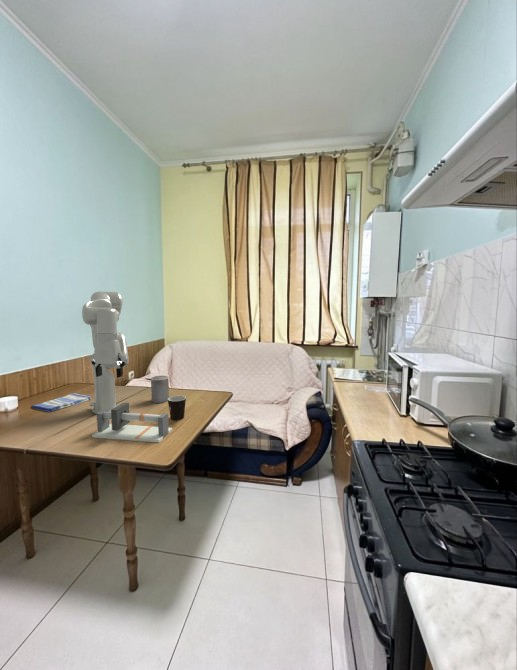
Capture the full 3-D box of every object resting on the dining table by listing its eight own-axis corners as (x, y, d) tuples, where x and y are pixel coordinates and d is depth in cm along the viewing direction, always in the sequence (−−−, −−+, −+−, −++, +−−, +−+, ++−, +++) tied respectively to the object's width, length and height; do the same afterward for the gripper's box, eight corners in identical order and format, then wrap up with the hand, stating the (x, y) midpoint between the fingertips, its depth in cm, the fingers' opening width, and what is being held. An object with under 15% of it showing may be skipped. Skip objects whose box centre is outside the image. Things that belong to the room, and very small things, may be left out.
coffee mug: (170, 415, 148) (169, 395, 147) (187, 414, 149) (187, 395, 148) (165, 424, 137) (164, 403, 136) (183, 423, 137) (183, 403, 136)
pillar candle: (160, 396, 177) (159, 372, 175) (172, 399, 173) (171, 374, 171) (148, 401, 168) (146, 376, 167) (160, 404, 164) (159, 378, 162)
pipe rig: (92, 437, 123) (90, 416, 122) (110, 425, 135) (109, 406, 134) (159, 442, 119) (158, 420, 118) (171, 429, 131) (171, 410, 130)
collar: (111, 430, 123) (110, 409, 122) (124, 421, 132) (123, 402, 131) (117, 430, 123) (116, 409, 122) (129, 422, 131) (128, 402, 131)
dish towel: (92, 400, 172) (92, 395, 172) (50, 413, 151) (50, 408, 150) (73, 396, 179) (72, 391, 179) (30, 408, 158) (29, 403, 157)
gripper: (82, 337, 123) (85, 377, 124) (120, 338, 120) (122, 379, 122) (95, 336, 130) (97, 373, 132) (131, 336, 128) (132, 375, 129)
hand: (109, 376), depth 127 cm, fingers open, 9 cm apart
